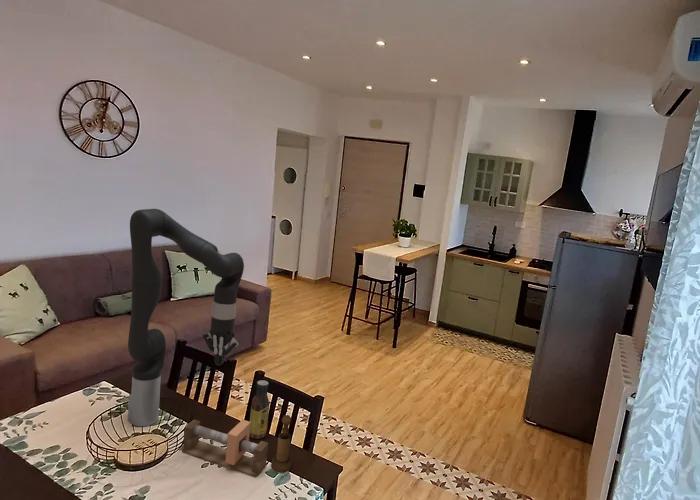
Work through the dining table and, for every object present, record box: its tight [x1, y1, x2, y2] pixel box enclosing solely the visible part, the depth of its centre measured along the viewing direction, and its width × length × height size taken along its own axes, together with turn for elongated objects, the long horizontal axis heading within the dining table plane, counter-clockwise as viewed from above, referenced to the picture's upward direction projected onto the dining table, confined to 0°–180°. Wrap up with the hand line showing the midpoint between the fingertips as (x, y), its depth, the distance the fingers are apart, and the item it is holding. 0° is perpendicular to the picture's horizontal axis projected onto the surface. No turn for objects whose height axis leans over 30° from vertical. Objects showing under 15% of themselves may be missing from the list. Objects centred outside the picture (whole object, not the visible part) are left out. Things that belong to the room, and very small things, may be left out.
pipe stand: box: [181, 419, 269, 478], centre depth 154 cm, size 27×7×9 cm, turn 73°
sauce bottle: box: [249, 379, 270, 440], centre depth 169 cm, size 7×6×20 cm
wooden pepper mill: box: [270, 414, 293, 474], centre depth 153 cm, size 7×6×18 cm
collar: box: [225, 419, 251, 465], centre depth 153 cm, size 3×9×10 cm, turn 163°
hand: (218, 364), depth 157 cm, fingers closed
